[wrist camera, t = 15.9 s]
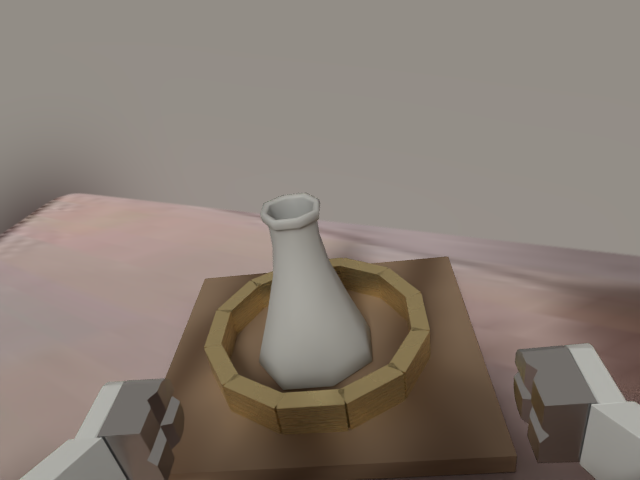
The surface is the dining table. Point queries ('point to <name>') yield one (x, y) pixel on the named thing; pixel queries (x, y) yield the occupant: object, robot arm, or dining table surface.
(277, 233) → the flask
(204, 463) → the walnut board
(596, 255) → the dining table surface
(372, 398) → the wooden ring
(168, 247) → the dining table surface
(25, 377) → the dining table surface
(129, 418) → the robot arm
